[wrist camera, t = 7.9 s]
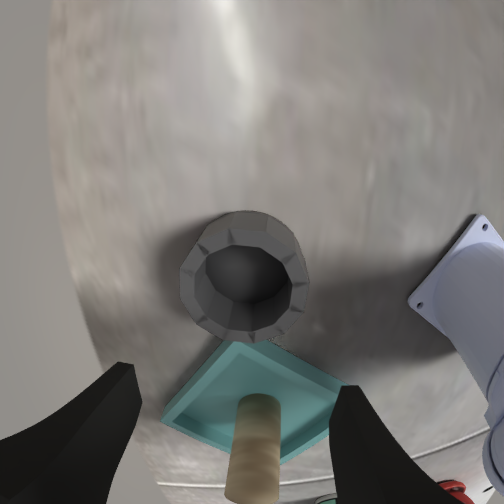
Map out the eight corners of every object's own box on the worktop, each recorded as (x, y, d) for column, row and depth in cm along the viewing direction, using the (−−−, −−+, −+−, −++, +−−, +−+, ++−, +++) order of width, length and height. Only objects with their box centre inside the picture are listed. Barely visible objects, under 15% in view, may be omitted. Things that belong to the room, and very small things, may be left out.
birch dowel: (288, 400, 24) (288, 492, 16) (270, 424, 25) (265, 509, 17) (247, 388, 23) (235, 481, 15) (231, 412, 25) (217, 499, 17)
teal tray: (362, 392, 23) (366, 407, 22) (273, 455, 28) (272, 469, 26) (238, 323, 21) (235, 339, 20) (165, 406, 26) (159, 421, 24)
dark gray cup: (324, 252, 19) (333, 279, 16) (260, 326, 21) (257, 360, 18) (232, 187, 18) (223, 202, 15) (176, 273, 20) (158, 300, 17)
